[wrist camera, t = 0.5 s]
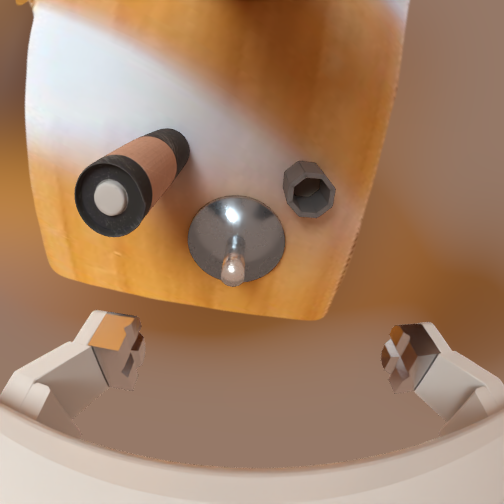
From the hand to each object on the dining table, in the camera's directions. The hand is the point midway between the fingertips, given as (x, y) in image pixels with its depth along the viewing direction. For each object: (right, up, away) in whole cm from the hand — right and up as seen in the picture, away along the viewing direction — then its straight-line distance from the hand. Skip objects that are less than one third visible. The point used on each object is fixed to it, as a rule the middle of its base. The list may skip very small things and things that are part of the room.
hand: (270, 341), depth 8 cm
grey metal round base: (-3, +5, +39) cm, 40 cm away
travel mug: (-13, +18, +31) cm, 38 cm away
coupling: (+7, +13, +34) cm, 37 cm away
